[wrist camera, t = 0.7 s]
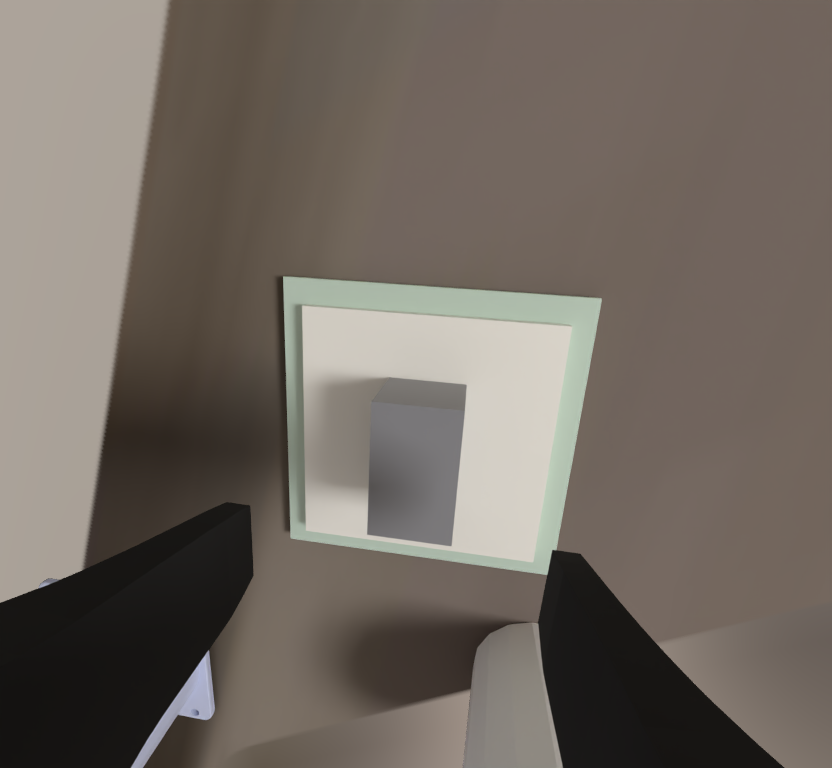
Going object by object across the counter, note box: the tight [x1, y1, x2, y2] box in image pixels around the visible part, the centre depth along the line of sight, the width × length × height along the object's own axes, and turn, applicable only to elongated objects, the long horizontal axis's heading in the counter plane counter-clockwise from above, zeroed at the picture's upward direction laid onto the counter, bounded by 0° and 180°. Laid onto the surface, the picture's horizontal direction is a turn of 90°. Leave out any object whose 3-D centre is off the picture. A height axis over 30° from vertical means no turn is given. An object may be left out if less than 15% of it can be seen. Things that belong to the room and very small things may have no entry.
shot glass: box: [463, 622, 563, 768], centre depth 17 cm, size 7×7×7 cm
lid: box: [302, 304, 572, 562], centre depth 16 cm, size 10×10×4 cm
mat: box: [283, 276, 602, 575], centre depth 18 cm, size 12×12×1 cm
